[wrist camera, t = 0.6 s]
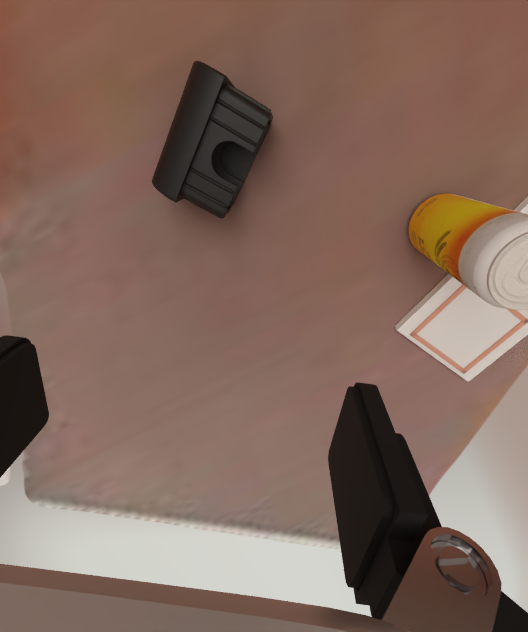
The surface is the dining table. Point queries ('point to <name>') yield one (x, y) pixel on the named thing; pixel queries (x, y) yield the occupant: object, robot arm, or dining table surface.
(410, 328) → the stamping board
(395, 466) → the robot arm
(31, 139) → the dining table surface
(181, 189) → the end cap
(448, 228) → the beer can
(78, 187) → the dining table surface
